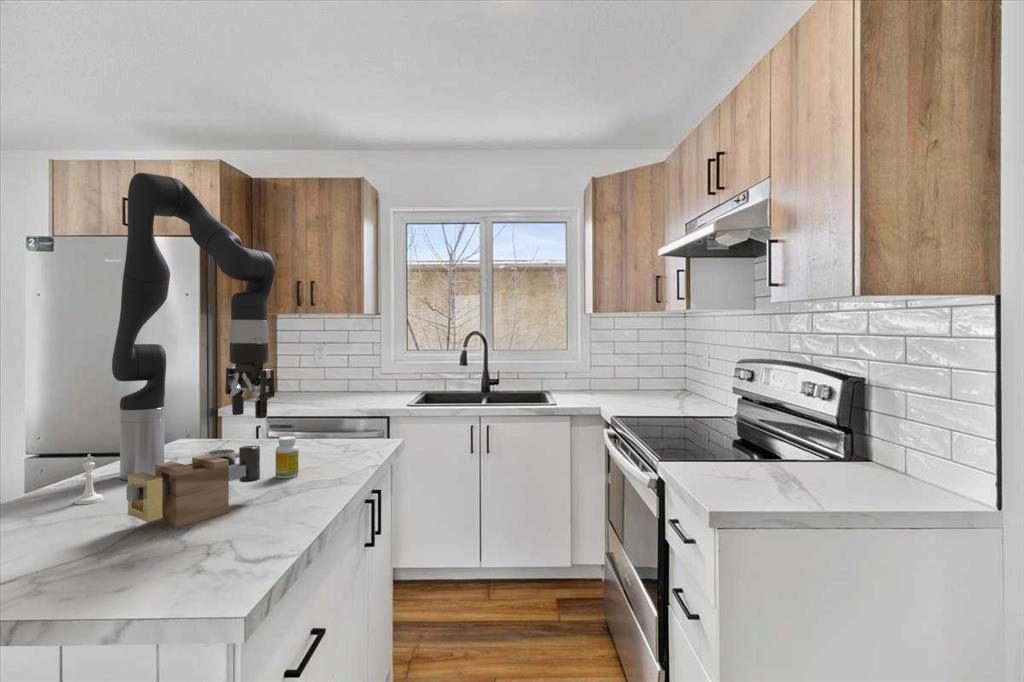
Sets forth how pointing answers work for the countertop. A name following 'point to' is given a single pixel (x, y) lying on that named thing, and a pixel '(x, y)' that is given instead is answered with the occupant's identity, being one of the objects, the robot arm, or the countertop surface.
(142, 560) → the countertop surface
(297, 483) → the countertop surface
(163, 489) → the shaft
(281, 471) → the supplement bottle
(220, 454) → the mug
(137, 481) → the block
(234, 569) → the countertop surface
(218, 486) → the bearing block
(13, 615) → the countertop surface
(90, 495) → the chess piece
